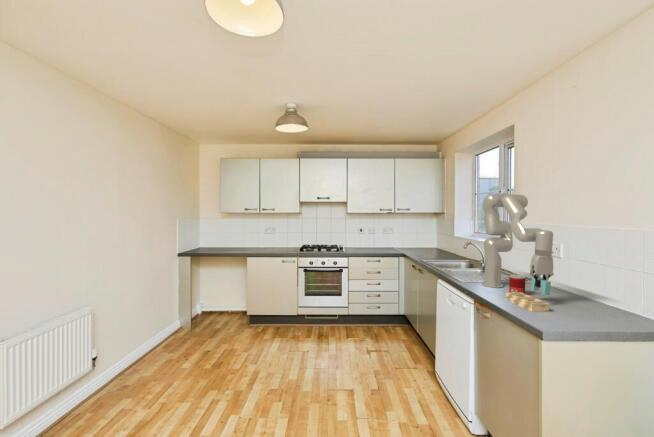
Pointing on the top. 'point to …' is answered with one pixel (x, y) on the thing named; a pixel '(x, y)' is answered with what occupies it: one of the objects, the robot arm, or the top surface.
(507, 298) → the tan slotted block
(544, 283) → the teal long block
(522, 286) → the canned food
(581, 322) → the top surface
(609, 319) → the top surface
